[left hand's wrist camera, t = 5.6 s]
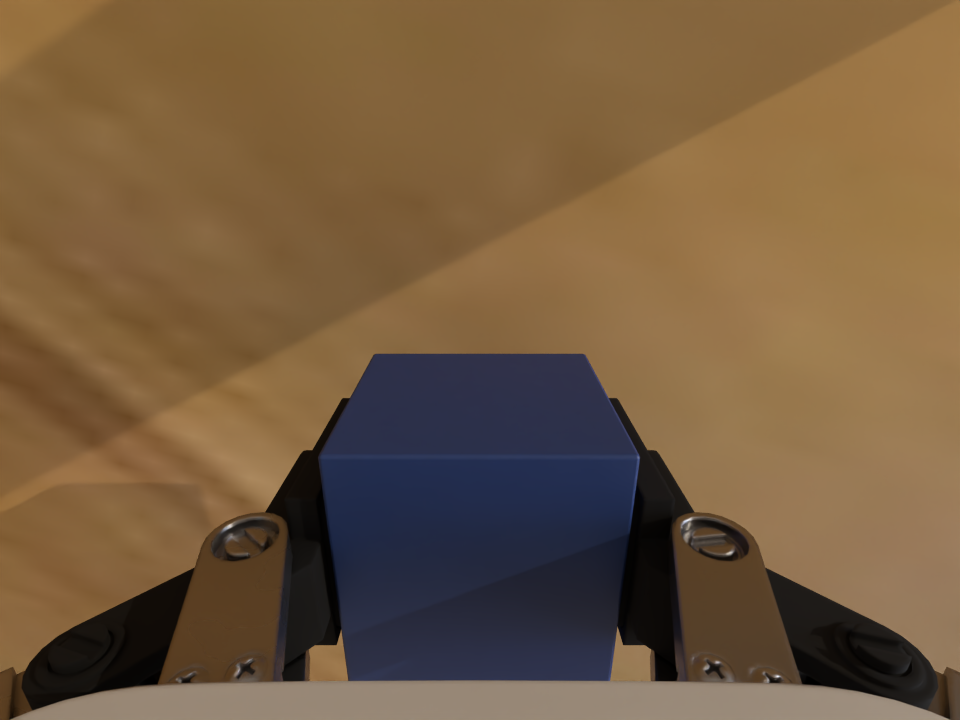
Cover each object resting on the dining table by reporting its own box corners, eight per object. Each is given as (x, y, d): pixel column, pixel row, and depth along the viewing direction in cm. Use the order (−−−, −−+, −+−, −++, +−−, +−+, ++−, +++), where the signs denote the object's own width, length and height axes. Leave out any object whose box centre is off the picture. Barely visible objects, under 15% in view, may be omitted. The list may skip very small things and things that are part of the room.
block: (387, 528, 14) (348, 687, 9) (373, 352, 12) (316, 456, 8) (571, 528, 14) (610, 687, 9) (585, 352, 12) (641, 456, 8)
